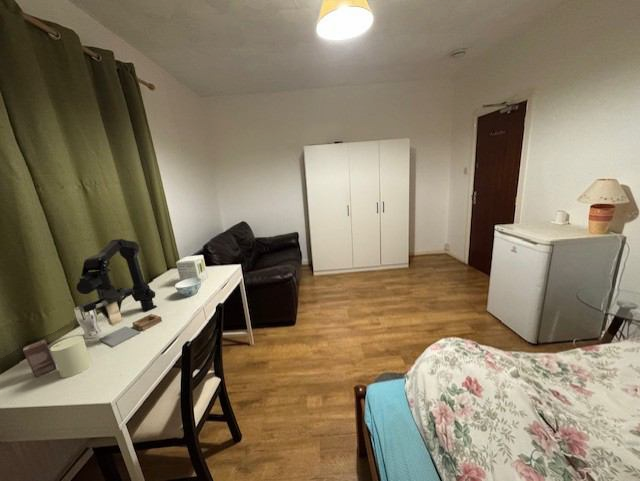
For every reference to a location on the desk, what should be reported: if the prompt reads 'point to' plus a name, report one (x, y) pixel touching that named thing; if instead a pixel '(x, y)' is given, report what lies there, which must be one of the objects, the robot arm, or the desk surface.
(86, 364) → the can
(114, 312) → the peg
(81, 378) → the desk surface
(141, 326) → the collar
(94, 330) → the beer glass
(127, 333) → the rubber mat
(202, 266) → the supplement box
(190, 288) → the chinaware
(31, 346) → the box
